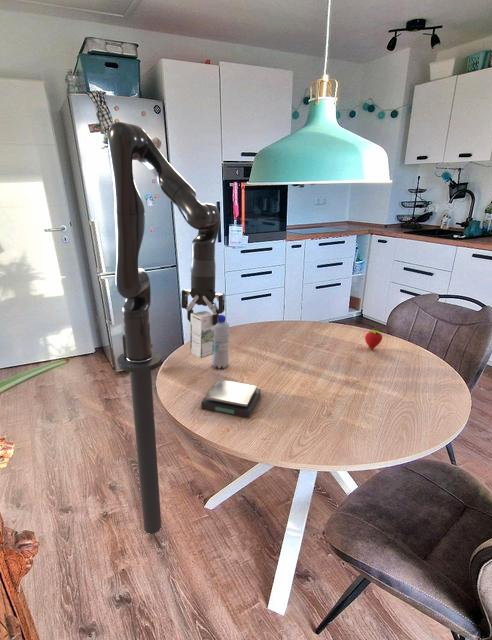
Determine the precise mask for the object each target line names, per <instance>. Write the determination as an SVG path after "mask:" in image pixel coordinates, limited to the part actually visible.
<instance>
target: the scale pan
mask: <svg viewBox="0 0 492 640" xmlns="http://www.w3.org/2000/svg"><path fill="white" fill-rule="evenodd" d="M216 382H217V383H216ZM216 382H215V384H213V386H214V387H213V386H212V387H213V388H212V387H211V389H210V390H209V391H210V392H209V391H208V393H207V394H206V395H207V396H206V395H205V397H206V399H208V400H214V401H219V402H224V403H229V404H235V405H240V406H245V407H247V406H248V404H249V402H250V400H251V398H252V397H253V395H254V393H255V391H256V389H258V386H257V385H253V384H248V383H242V382H238V381H237V382H236V381H231V380H225V379H218V380H217V381H216Z"/></svg>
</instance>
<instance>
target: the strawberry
mask: <svg viewBox="0 0 492 640" xmlns="http://www.w3.org/2000/svg"><path fill="white" fill-rule="evenodd" d="M374 327H375V329H376V330H375V329H372V330H368V332H366V333H365V336H364V340H365V343H366V345H367V346H368V347H369V349H370V350H375V348H376V347H378V345H379V344H381V342H382V340H383V335H382V333H381V331H379V330H377V327H376V326H374Z"/></svg>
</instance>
